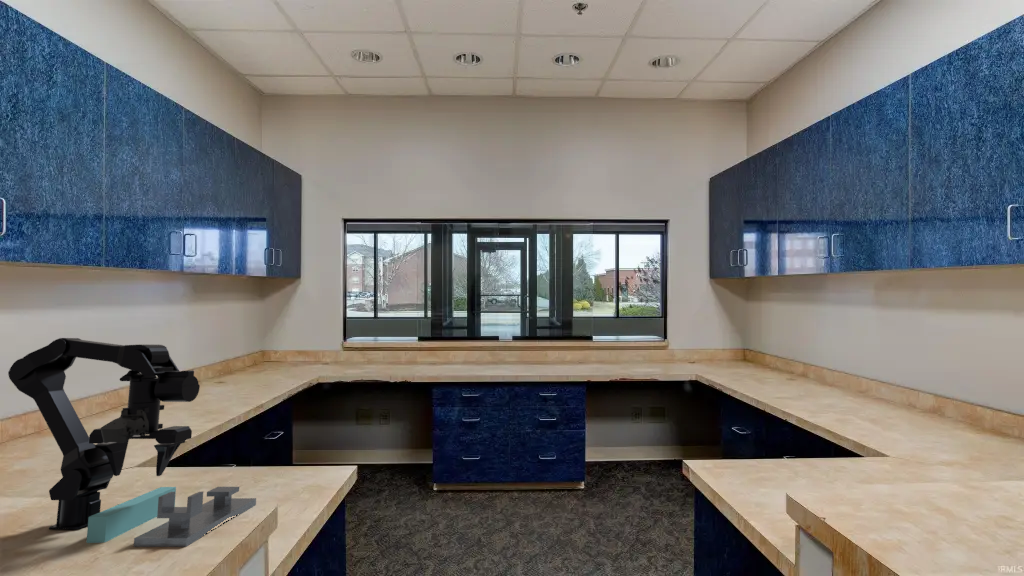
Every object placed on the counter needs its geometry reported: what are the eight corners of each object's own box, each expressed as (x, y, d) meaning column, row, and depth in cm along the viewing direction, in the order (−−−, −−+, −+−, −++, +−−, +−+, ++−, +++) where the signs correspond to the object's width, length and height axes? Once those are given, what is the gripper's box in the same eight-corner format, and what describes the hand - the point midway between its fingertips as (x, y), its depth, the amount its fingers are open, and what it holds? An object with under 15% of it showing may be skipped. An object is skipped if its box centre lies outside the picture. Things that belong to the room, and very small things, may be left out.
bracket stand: (133, 546, 91) (137, 502, 92) (214, 504, 115) (216, 470, 116) (185, 546, 91) (188, 502, 92) (255, 504, 114) (257, 469, 115)
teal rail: (86, 544, 93) (88, 516, 94) (159, 509, 113) (161, 487, 113) (104, 543, 93) (107, 516, 94) (174, 509, 113) (176, 486, 114)
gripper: (68, 406, 98) (60, 486, 96) (158, 406, 98) (152, 486, 96) (114, 400, 109) (107, 471, 107) (195, 400, 109) (190, 472, 107)
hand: (138, 475), depth 104 cm, fingers open, 9 cm apart
